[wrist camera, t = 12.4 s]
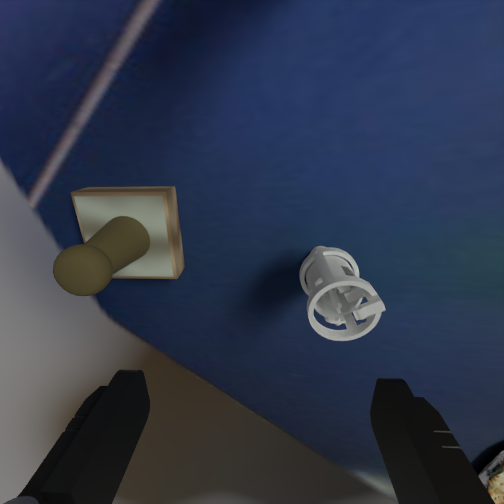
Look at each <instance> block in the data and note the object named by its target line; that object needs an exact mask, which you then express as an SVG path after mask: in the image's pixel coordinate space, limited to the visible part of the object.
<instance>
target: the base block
mask: <svg viewBox="0 0 504 504" xmlns="http://www.w3.org/2000/svg"><path fill="white" fill-rule="evenodd" d="M71 196H72V200H73V203H74V207H75V211H76V215H77V218H78V222H79V226H80V230H81V233H82V237H83V241H84V243H85V242H86V241H88V240H89V239H90V238H91V237H92V236H93V235H94V234H95V233H96V232H98V231H99V230H100V229H101V228H102V227H103V226H104V225H105V224H106V223H108V222H109V221H110V220H111V219H113V218H115V217H118V216H128V217H131V218H134V219H136V220H137V221H139V222H140V223H142V225H143V226H144V227H145V228H146V229H147V231H148V234H149V236H150V247H149V250H148V251H147V253H146V254H145V255H144V256H142V257H141V258H139V259H137V260H136V261H134V262H132V263H131V264H129V265H128V266H126V267H124V268H123V269H121V270H119V271H118V272H116V273H114V274H113V275H112V278H143V279H178V277H179V276H180V274H181V272H182V271H183V269H184V268H185V265H184V257H183V249H182V241H181V232H180V224H179V216H178V207H177V199H176V191H175V186H174V187H87V188H83V189H80V190H76V191H73V192H71Z"/></svg>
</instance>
